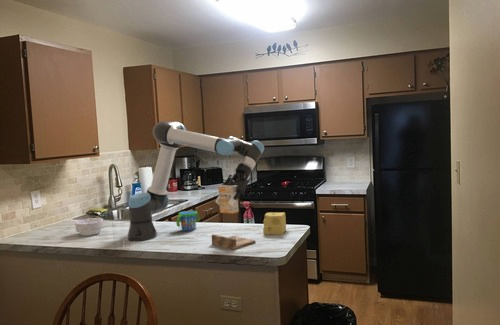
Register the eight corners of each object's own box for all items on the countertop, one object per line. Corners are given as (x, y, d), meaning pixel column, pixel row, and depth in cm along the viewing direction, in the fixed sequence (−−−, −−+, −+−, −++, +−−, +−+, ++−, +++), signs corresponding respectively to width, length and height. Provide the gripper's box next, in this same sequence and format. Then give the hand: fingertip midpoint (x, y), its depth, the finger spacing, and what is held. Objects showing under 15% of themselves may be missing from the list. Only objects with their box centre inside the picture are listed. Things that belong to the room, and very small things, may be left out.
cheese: (263, 234, 208) (262, 215, 207) (268, 229, 218) (267, 211, 218) (282, 235, 205) (281, 216, 204) (287, 230, 215) (286, 211, 215)
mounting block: (212, 244, 194) (211, 234, 194) (233, 238, 204) (232, 229, 204) (234, 249, 183) (233, 239, 183) (255, 242, 193) (254, 233, 192)
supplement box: (219, 213, 194) (217, 186, 193) (225, 211, 198) (223, 185, 197) (233, 214, 189) (231, 186, 188) (239, 212, 193) (237, 185, 192)
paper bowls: (94, 237, 223) (93, 223, 223) (70, 237, 226) (69, 223, 226) (109, 230, 238) (108, 217, 238) (86, 230, 241) (85, 217, 241)
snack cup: (194, 226, 238) (193, 209, 237) (205, 228, 230) (204, 210, 230) (172, 231, 227) (170, 213, 226) (182, 234, 219) (181, 215, 219)
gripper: (264, 172, 195) (243, 210, 185) (235, 171, 211) (214, 206, 201) (256, 162, 191) (234, 200, 181) (227, 162, 207) (204, 198, 197)
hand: (223, 204), depth 191 cm, fingers closed on supplement box, 9 cm apart
